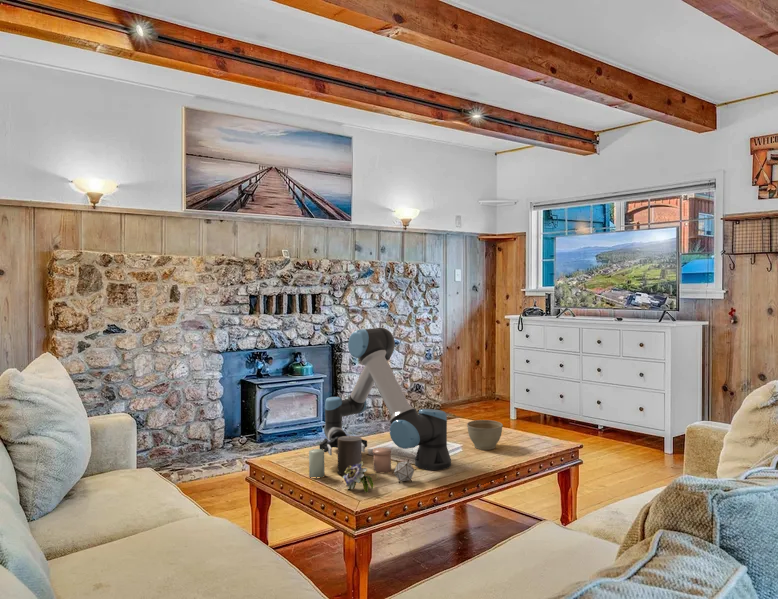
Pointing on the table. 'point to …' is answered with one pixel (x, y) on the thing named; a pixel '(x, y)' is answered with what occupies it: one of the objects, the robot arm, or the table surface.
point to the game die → (404, 471)
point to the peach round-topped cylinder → (382, 459)
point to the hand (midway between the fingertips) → (347, 450)
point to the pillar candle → (348, 452)
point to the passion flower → (357, 476)
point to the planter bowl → (484, 433)
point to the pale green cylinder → (316, 463)
